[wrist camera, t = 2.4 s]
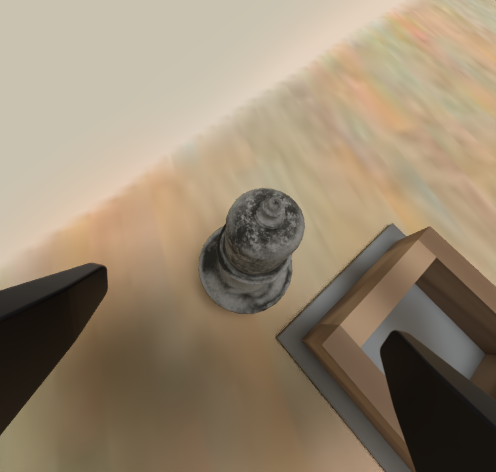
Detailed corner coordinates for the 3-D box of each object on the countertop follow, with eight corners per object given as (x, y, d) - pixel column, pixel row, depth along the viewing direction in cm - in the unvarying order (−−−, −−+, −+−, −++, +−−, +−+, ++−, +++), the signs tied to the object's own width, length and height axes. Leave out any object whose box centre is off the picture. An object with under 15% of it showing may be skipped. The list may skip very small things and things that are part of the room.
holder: (431, 528, 14) (508, 605, 10) (276, 337, 17) (292, 342, 13) (525, 356, 18) (603, 366, 14) (388, 225, 21) (425, 204, 17)
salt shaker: (291, 296, 18) (413, 257, 7) (218, 328, 16) (214, 349, 5) (261, 228, 19) (317, 104, 8) (192, 253, 18) (145, 144, 7)
